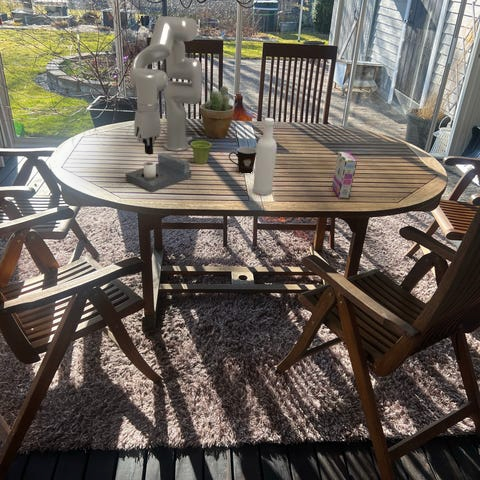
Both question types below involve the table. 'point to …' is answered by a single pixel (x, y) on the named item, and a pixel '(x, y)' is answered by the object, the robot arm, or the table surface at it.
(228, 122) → the potted plant
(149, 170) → the bushing
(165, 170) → the jig
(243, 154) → the coffee mug
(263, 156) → the bottle
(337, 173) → the candy bar box
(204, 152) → the plant pot
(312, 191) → the table surface
